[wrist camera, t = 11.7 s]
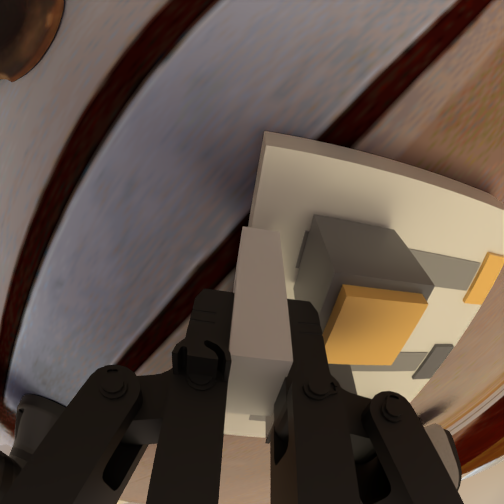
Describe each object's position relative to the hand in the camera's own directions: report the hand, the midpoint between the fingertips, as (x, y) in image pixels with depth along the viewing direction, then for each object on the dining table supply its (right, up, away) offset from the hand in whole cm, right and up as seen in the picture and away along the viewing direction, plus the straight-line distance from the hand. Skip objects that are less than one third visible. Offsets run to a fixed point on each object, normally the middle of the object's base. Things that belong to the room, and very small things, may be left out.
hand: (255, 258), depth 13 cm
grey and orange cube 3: (+4, 0, +1) cm, 4 cm away
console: (+6, -5, +9) cm, 12 cm away
